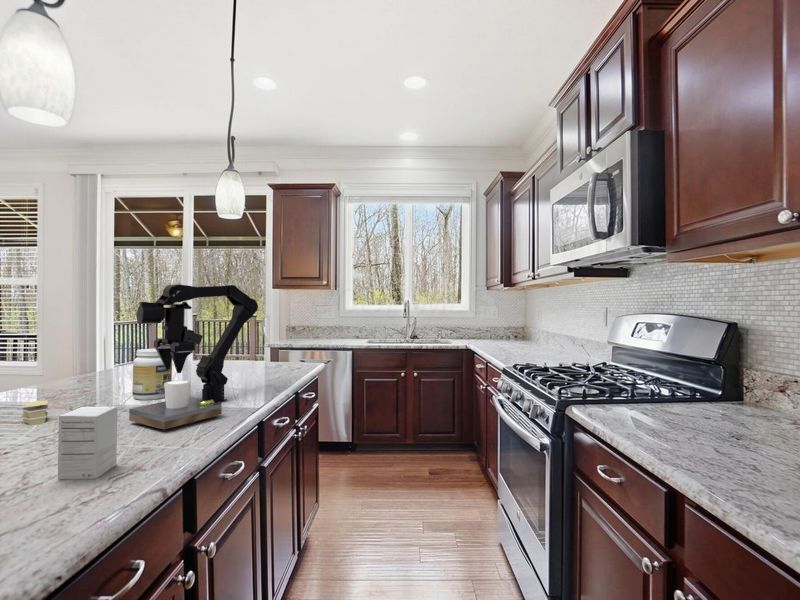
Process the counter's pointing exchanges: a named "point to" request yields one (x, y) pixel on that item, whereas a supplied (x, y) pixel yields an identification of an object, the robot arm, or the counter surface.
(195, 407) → the levelling plate
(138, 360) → the supplement tub
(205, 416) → the brown wooden board
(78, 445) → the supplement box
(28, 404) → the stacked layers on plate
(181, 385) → the white cup
